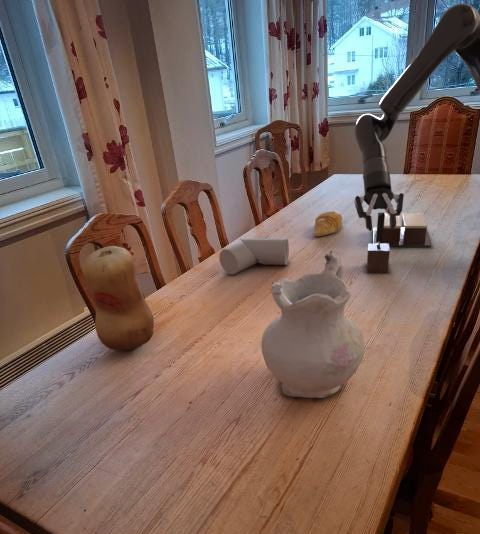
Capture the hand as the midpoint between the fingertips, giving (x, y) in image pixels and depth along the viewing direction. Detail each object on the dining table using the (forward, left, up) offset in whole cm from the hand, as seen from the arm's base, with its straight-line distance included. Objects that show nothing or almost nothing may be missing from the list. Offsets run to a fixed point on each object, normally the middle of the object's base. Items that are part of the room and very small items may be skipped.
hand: (381, 228), depth 123 cm
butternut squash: (+58, +48, -13) cm, 77 cm away
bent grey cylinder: (+37, -2, -13) cm, 40 cm away
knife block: (0, -2, -13) cm, 13 cm away
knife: (0, -2, -13) cm, 13 cm away
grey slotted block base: (-8, -29, -13) cm, 33 cm away
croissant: (+18, -38, -13) cm, 44 cm away
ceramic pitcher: (+13, +54, -13) cm, 58 cm away
